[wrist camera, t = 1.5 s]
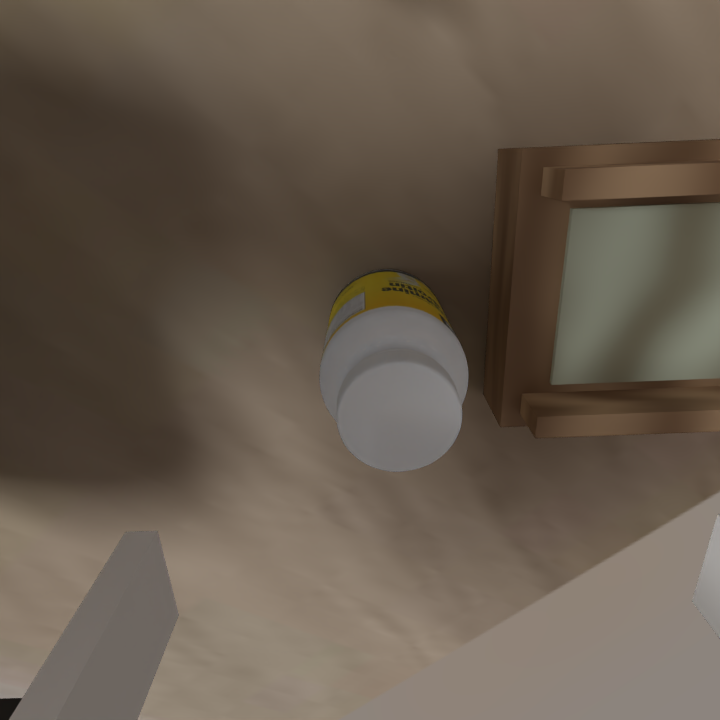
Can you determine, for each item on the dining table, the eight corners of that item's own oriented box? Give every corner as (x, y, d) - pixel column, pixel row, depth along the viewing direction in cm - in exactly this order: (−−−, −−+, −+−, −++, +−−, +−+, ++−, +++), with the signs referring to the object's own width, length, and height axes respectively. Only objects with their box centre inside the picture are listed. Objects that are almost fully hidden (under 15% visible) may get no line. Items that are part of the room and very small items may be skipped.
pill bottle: (458, 341, 30) (516, 451, 19) (362, 389, 31) (365, 517, 20) (409, 244, 27) (443, 305, 17) (308, 299, 28) (278, 389, 18)
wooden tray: (483, 394, 31) (513, 452, 25) (498, 148, 25) (542, 148, 19) (710, 385, 31) (796, 442, 25) (774, 136, 25) (904, 132, 19)
